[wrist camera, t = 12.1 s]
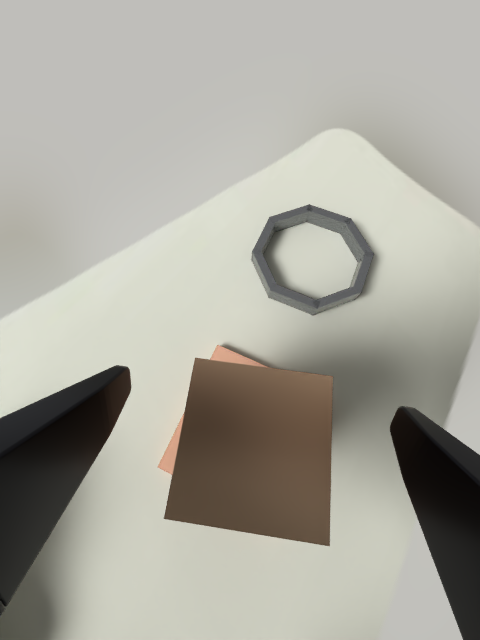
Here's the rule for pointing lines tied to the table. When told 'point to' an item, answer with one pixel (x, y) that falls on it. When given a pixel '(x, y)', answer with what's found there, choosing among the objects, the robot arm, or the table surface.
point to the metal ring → (326, 221)
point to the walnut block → (255, 452)
